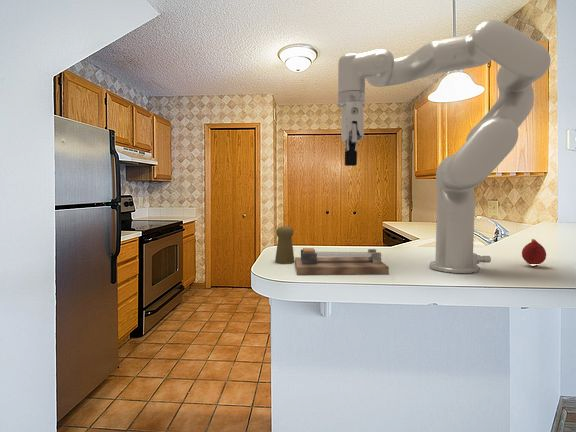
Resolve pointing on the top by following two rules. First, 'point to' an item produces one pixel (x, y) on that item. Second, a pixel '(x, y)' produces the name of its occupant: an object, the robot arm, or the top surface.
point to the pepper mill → (284, 246)
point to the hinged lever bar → (338, 253)
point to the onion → (534, 253)
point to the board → (340, 265)
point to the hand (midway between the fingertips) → (350, 165)
